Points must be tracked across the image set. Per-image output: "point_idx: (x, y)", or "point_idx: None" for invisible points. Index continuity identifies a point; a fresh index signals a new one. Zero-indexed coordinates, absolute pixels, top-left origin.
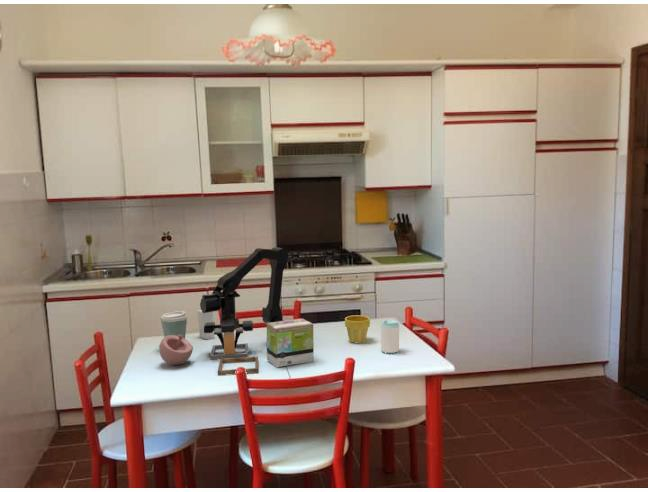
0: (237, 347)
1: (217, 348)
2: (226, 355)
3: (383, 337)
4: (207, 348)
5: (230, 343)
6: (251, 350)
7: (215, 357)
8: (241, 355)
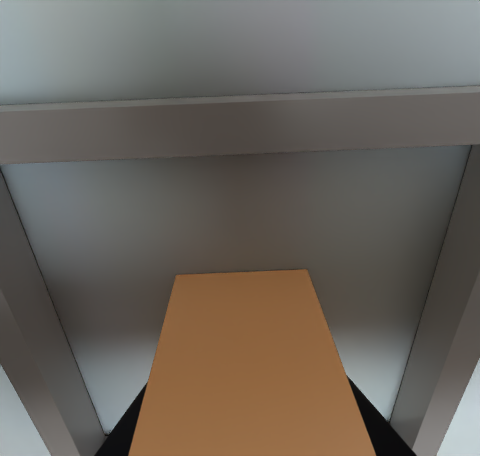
0: None
1: None
2: (279, 98)
3: None
4: (453, 445)
5: (218, 418)
6: None
7: (472, 87)
8: (1, 109)
